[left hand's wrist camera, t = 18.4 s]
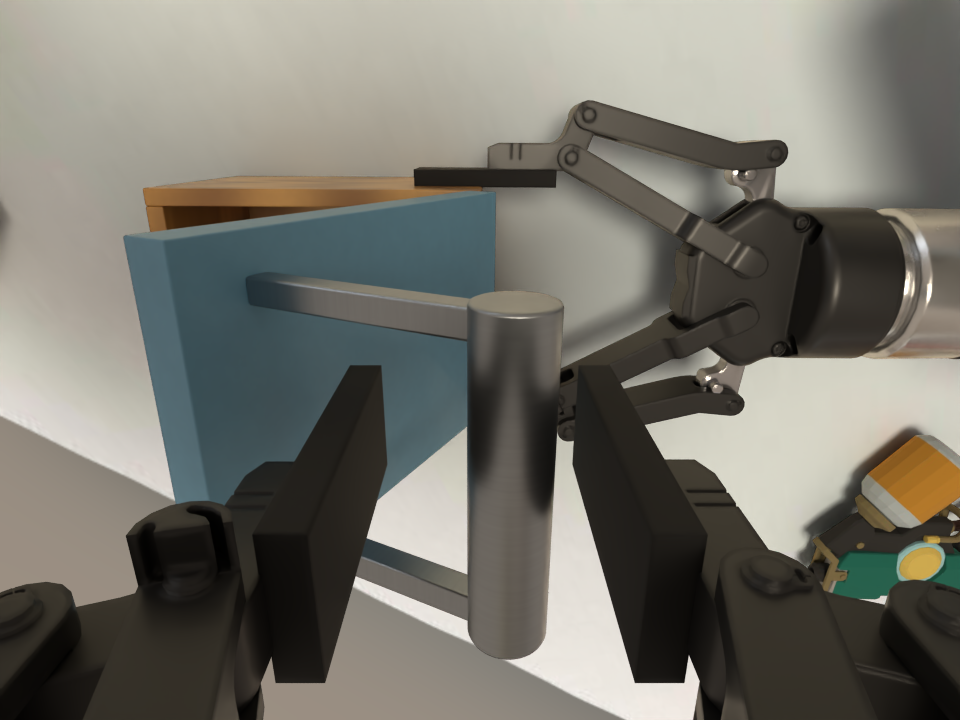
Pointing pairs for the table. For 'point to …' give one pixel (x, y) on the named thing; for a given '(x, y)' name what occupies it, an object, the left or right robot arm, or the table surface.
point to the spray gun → (896, 526)
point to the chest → (272, 197)
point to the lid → (368, 341)
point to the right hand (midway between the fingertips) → (420, 281)
